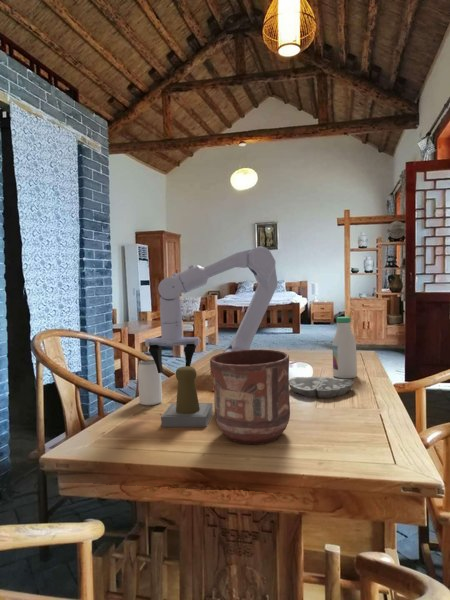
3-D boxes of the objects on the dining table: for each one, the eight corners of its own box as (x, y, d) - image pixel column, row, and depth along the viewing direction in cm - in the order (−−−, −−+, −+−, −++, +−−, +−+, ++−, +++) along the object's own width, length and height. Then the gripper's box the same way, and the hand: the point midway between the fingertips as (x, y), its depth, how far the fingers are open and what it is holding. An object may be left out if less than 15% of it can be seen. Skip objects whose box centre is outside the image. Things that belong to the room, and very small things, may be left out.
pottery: (216, 422, 112) (212, 350, 110) (287, 420, 111) (285, 347, 110) (211, 452, 94) (207, 366, 93) (297, 449, 93) (293, 363, 92)
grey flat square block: (212, 412, 120) (212, 402, 120) (206, 426, 109) (205, 416, 109) (172, 412, 121) (171, 403, 121) (161, 426, 110) (161, 416, 110)
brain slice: (280, 399, 130) (280, 389, 130) (293, 384, 146) (293, 375, 146) (351, 403, 123) (351, 392, 123) (356, 387, 139) (356, 377, 139)
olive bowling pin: (189, 415, 110) (187, 370, 109) (170, 411, 113) (168, 368, 113) (204, 408, 115) (202, 365, 114) (186, 405, 118) (183, 363, 118)
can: (157, 406, 128) (155, 364, 127) (136, 405, 129) (133, 364, 128) (165, 399, 134) (163, 359, 133) (144, 399, 136) (142, 359, 135)
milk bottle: (359, 374, 154) (358, 316, 152) (353, 380, 147) (351, 318, 146) (337, 372, 158) (335, 315, 156) (330, 377, 151) (328, 318, 150)
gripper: (140, 324, 119) (143, 376, 120) (195, 323, 117) (197, 375, 118) (148, 321, 126) (151, 370, 127) (199, 320, 124) (202, 369, 125)
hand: (174, 372), depth 123 cm, fingers open, 7 cm apart
